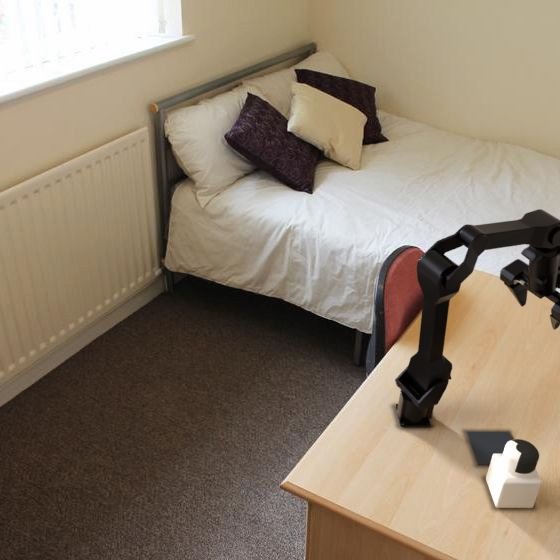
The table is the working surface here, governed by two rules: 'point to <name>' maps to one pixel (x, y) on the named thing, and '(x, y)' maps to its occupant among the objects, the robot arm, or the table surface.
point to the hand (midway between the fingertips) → (539, 316)
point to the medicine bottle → (514, 475)
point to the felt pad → (488, 445)
